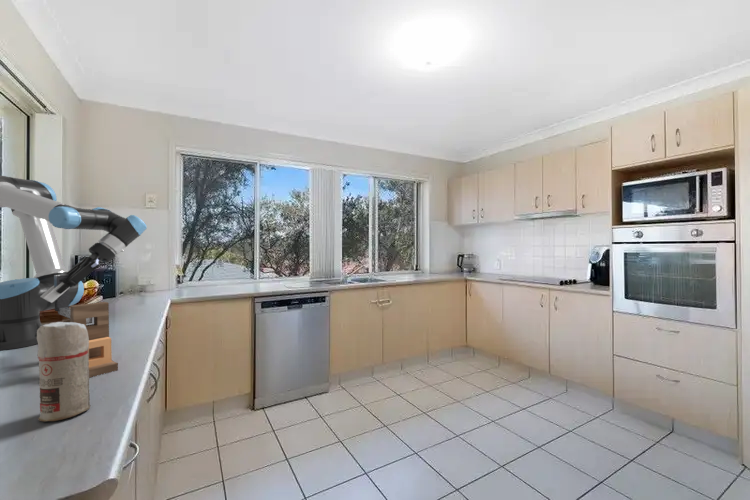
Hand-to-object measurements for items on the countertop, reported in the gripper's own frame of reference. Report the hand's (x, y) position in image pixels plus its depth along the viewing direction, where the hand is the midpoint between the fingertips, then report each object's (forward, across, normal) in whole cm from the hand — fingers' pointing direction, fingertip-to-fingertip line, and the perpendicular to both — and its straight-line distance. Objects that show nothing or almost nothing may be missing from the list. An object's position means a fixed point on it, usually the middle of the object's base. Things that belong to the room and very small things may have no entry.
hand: (46, 299), depth 110 cm
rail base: (+10, -21, -16) cm, 28 cm away
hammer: (+1, -12, -6) cm, 14 cm away
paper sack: (+19, -56, -7) cm, 60 cm away
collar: (+9, -32, -14) cm, 36 cm away
